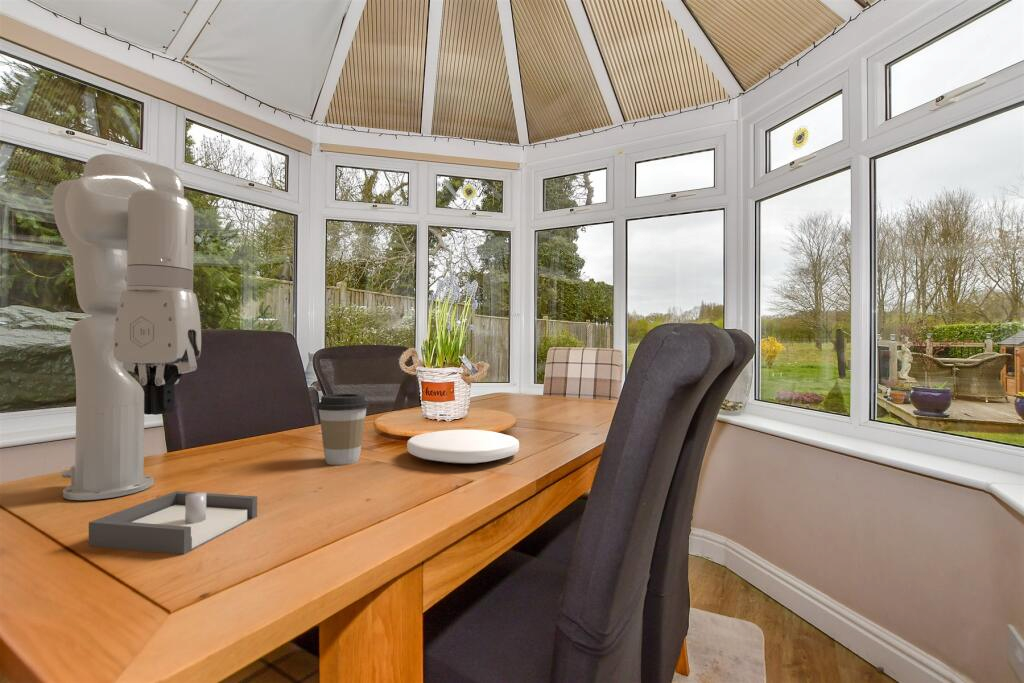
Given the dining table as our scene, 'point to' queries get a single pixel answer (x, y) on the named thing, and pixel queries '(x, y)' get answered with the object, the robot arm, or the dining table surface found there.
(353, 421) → the coffee cup
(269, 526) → the dining table surface
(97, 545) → the dark box
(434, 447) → the white round disc
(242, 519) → the cover plate
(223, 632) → the dining table surface
